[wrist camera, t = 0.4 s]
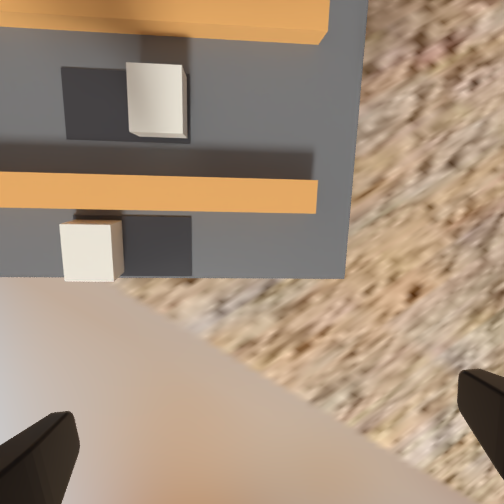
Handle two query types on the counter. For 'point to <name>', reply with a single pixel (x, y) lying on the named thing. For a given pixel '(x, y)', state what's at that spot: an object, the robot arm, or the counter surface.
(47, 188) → the orange wooden bar
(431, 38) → the counter surface
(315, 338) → the counter surface
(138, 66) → the block
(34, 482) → the robot arm
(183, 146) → the breaker panel
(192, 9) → the orange bar
